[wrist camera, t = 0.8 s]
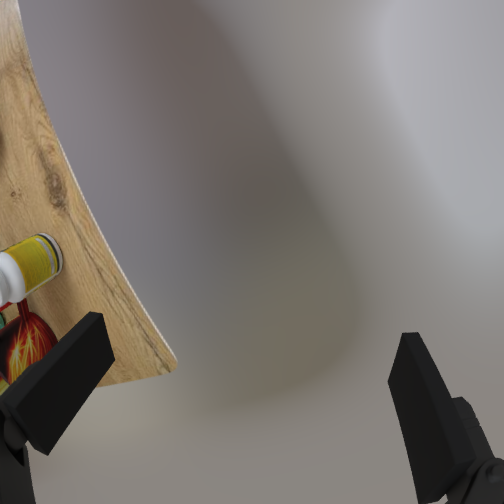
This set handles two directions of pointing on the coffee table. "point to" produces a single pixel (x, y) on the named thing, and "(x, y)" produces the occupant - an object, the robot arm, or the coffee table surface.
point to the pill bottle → (28, 267)
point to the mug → (22, 343)
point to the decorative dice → (1, 322)
